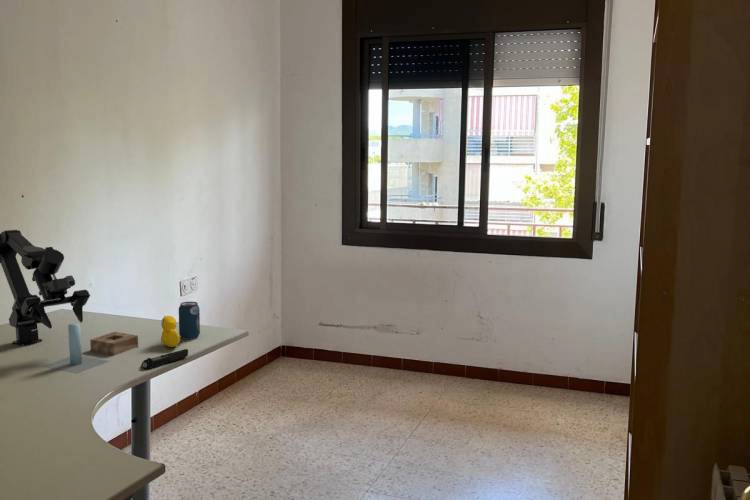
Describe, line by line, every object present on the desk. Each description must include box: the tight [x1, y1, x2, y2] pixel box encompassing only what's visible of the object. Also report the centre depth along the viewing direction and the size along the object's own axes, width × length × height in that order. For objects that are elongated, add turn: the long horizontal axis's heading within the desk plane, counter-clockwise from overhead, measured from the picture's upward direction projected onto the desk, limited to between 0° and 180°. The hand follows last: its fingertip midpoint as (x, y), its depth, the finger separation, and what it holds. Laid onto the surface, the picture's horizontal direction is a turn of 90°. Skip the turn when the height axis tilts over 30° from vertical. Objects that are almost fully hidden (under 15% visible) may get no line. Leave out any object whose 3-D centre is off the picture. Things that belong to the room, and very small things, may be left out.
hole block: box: [89, 331, 139, 356], centre depth 203 cm, size 10×10×4 cm
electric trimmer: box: [140, 348, 189, 371], centre depth 192 cm, size 4×16×3 cm, turn 143°
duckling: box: [160, 315, 181, 348], centre depth 208 cm, size 11×5×10 cm, turn 33°
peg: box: [67, 322, 83, 365], centre depth 187 cm, size 3×3×12 cm
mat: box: [42, 355, 110, 374], centre depth 188 cm, size 14×12×1 cm
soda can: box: [178, 301, 201, 340], centre depth 218 cm, size 7×7×12 cm
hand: (66, 324), depth 189 cm, fingers open, 9 cm apart
